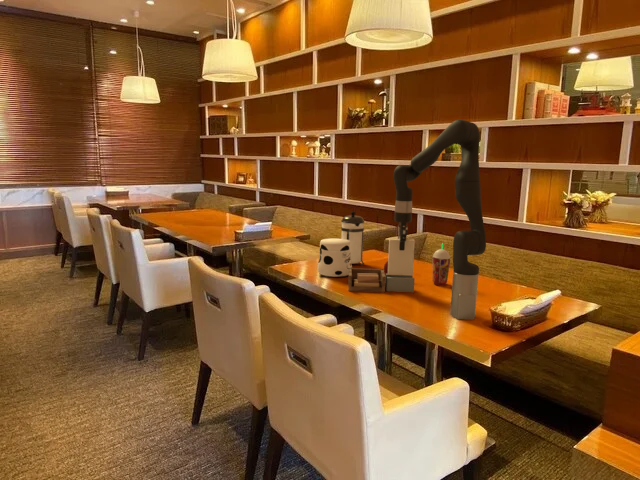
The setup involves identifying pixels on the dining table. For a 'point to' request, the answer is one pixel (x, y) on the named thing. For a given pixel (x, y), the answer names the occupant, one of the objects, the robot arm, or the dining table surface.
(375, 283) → the offcut large
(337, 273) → the milk container
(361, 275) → the offcut small
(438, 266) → the smoothie
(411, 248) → the cream rectangular board
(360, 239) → the coffee press
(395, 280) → the holder
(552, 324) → the dining table surface
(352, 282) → the box
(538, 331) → the dining table surface
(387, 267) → the apple
